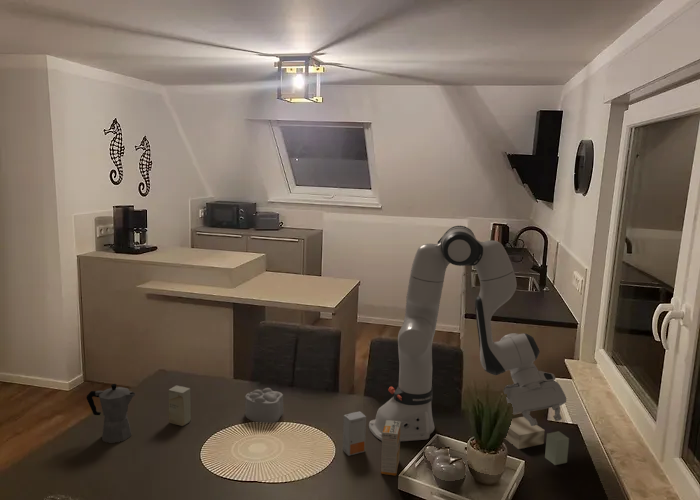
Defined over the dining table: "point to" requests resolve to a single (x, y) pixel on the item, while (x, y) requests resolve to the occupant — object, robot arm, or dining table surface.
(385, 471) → the supplement box
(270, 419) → the lumpy-topped squat cylinder
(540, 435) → the ash block
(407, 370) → the robot arm
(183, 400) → the skincare box
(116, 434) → the coffeepot
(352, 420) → the skincare box
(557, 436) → the sage block
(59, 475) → the dining table surface
